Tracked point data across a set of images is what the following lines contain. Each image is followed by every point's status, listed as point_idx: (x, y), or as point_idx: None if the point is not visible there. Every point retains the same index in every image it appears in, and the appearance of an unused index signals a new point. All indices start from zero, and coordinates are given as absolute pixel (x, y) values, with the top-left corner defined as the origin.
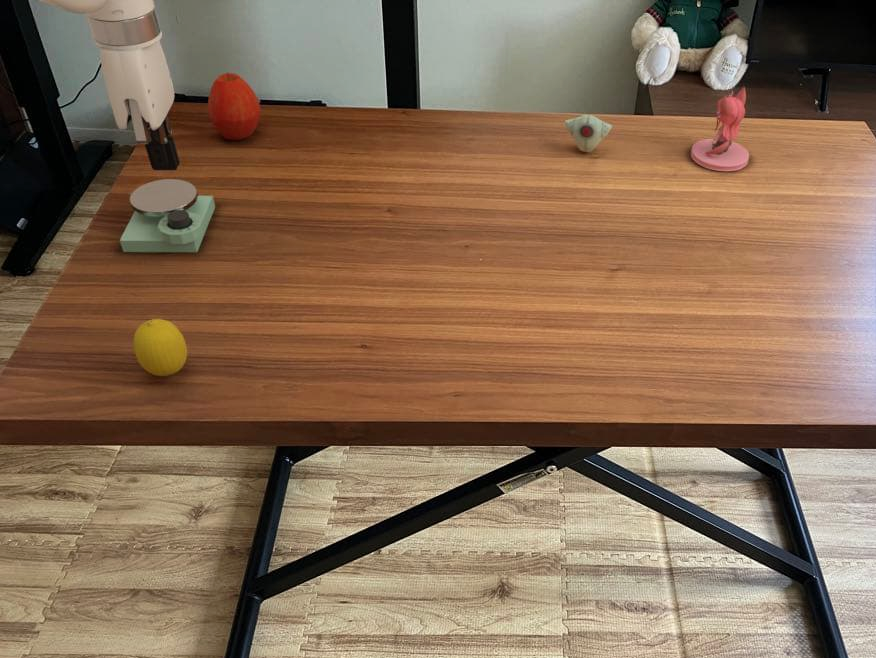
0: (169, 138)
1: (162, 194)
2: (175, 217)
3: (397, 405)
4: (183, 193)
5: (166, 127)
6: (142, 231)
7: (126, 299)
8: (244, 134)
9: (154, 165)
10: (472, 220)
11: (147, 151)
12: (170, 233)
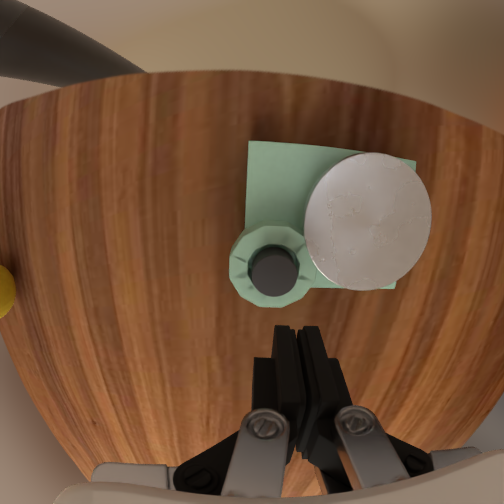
0: (303, 454)
1: (376, 223)
2: (265, 273)
3: (51, 421)
4: (373, 265)
5: (322, 482)
6: (281, 180)
7: (110, 187)
8: None
9: (275, 340)
10: (290, 484)
11: (280, 370)
12: (232, 257)
